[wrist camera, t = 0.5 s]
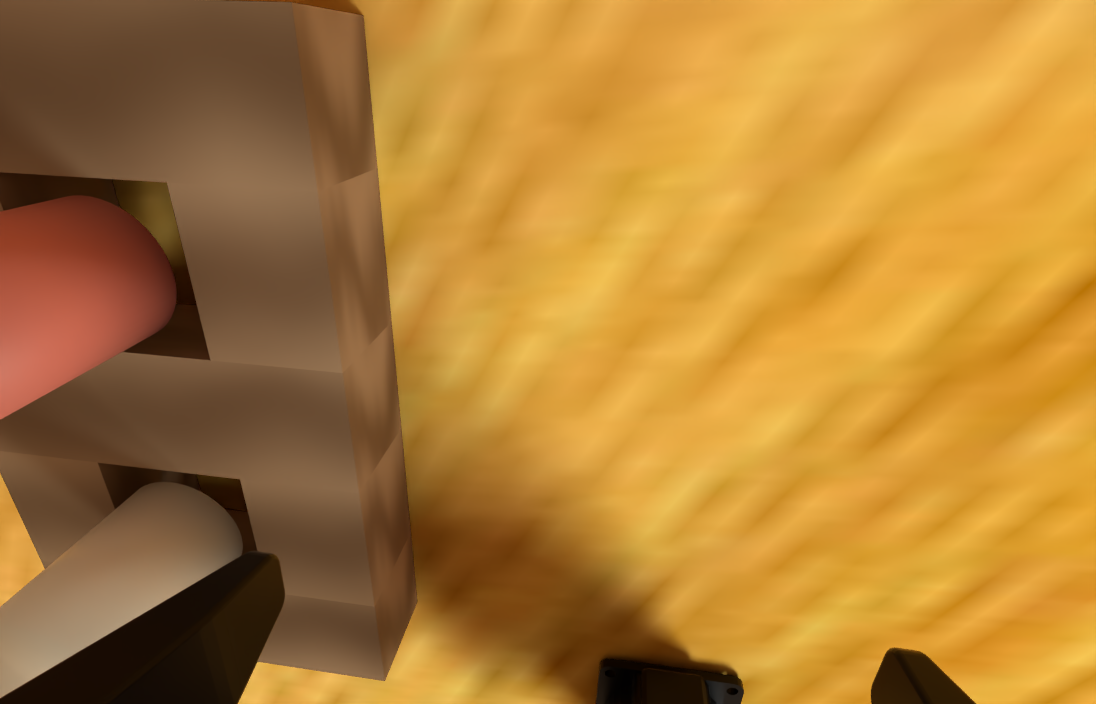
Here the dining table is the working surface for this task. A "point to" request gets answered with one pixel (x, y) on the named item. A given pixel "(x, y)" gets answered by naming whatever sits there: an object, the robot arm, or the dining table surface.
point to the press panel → (227, 297)
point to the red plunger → (74, 292)
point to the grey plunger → (114, 577)
